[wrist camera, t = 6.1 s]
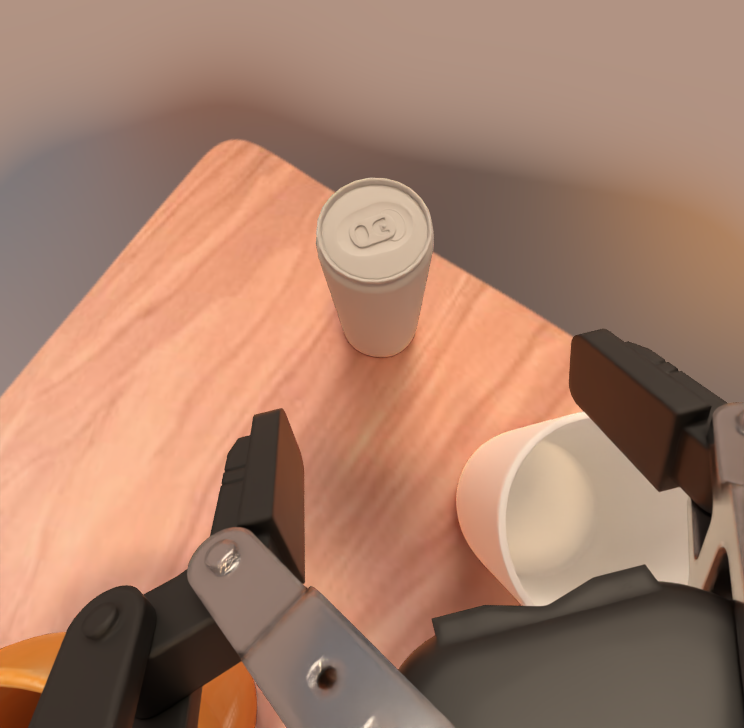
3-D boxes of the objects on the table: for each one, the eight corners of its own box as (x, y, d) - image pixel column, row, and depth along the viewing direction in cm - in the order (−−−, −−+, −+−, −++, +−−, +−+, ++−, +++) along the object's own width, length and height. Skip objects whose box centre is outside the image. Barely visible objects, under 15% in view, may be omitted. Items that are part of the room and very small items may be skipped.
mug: (598, 659, 23) (767, 816, 13) (424, 514, 26) (449, 549, 15) (679, 530, 25) (891, 579, 14) (507, 402, 27) (583, 363, 16)
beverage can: (427, 346, 28) (455, 262, 16) (357, 370, 28) (334, 303, 16) (401, 281, 29) (410, 159, 17) (334, 304, 29) (297, 196, 17)
